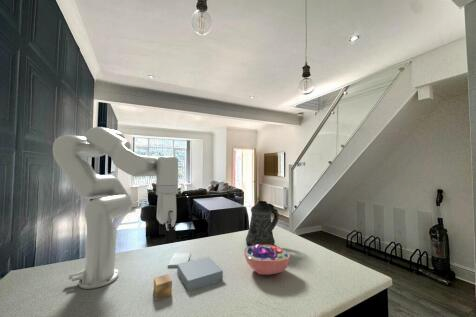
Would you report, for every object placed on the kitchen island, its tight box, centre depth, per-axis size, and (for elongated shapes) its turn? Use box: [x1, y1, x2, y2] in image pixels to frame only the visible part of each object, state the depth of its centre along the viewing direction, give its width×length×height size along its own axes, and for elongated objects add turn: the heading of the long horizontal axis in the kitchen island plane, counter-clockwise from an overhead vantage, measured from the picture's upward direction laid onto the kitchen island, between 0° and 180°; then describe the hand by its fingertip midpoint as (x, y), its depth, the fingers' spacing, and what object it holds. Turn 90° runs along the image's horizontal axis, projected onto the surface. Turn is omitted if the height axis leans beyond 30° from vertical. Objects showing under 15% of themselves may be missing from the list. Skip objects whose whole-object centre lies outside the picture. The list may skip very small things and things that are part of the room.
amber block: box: [152, 273, 173, 301], centre depth 67 cm, size 5×5×5 cm
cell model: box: [243, 244, 291, 276], centre depth 83 cm, size 17×20×11 cm
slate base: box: [176, 256, 224, 292], centre depth 79 cm, size 14×14×4 cm
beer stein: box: [245, 200, 280, 247], centre depth 113 cm, size 16×19×25 cm
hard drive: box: [167, 252, 191, 269], centre depth 91 cm, size 2×8×12 cm
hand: (166, 237), depth 70 cm, fingers open, 9 cm apart
